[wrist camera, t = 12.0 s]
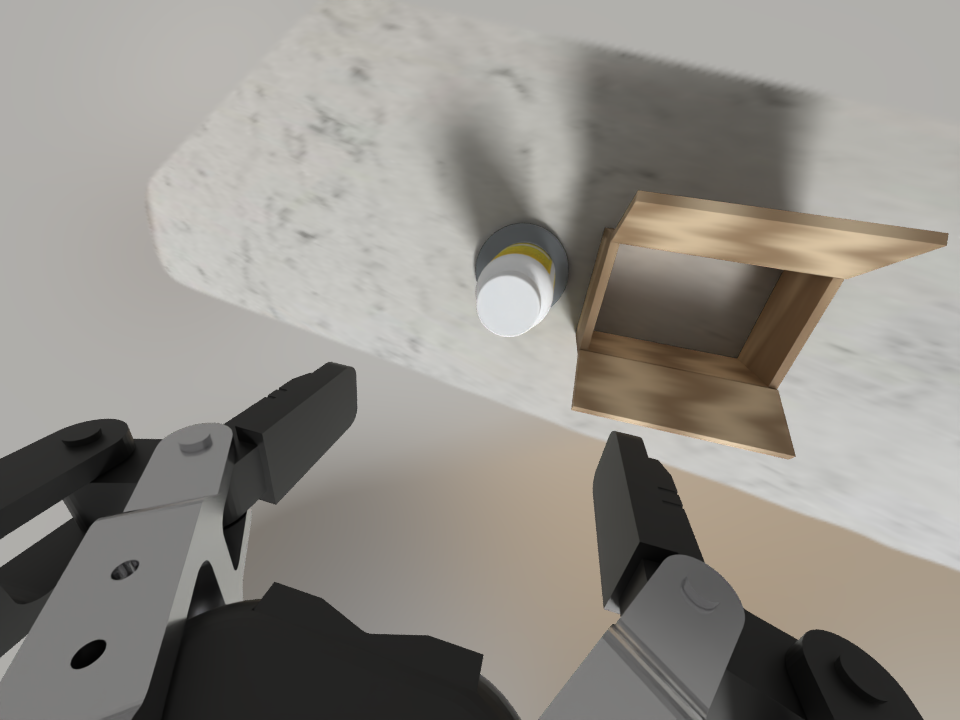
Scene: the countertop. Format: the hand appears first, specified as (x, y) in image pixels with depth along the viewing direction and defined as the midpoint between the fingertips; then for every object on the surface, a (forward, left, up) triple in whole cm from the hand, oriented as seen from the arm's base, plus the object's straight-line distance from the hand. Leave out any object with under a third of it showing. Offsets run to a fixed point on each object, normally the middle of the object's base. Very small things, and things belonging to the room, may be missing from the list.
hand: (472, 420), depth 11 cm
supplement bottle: (+1, 0, -22) cm, 22 cm away
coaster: (+1, 0, -22) cm, 22 cm away
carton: (-12, 0, -22) cm, 25 cm away
